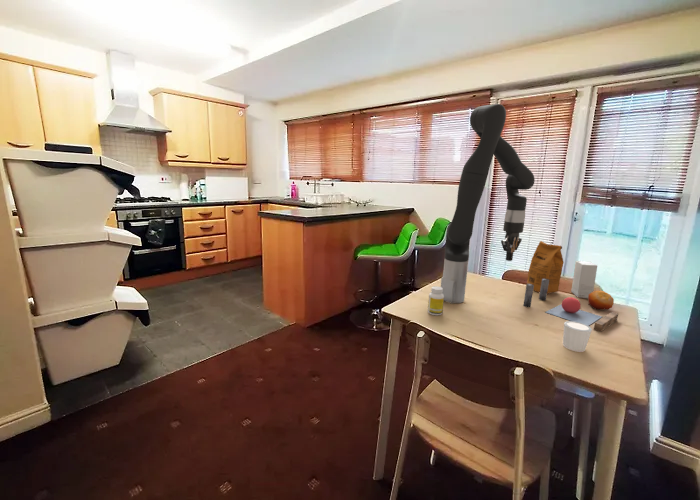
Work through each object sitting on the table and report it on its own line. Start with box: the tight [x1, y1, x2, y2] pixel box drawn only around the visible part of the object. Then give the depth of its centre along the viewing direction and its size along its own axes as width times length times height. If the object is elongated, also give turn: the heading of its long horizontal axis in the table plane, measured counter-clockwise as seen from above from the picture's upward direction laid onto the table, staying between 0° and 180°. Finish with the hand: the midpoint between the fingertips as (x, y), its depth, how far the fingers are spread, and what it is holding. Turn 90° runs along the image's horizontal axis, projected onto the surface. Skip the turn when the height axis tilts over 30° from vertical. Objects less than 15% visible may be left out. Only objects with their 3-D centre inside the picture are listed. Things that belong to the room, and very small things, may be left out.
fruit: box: [587, 290, 615, 311], centre depth 127 cm, size 8×8×8 cm
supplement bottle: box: [427, 286, 445, 316], centre depth 119 cm, size 5×5×10 cm
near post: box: [522, 283, 534, 308], centre depth 127 cm, size 3×3×9 cm
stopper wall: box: [593, 311, 619, 332], centre depth 113 cm, size 16×2×2 cm, turn 126°
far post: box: [538, 278, 549, 302], centre depth 135 cm, size 3×3×9 cm
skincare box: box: [570, 260, 598, 299], centre depth 140 cm, size 8×6×15 cm
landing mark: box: [544, 303, 603, 327], centre depth 121 cm, size 14×14×1 cm
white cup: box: [562, 320, 593, 353], centre depth 97 cm, size 7×7×7 cm
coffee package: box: [526, 240, 564, 295], centre depth 145 cm, size 10×12×22 cm
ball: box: [561, 296, 582, 313], centre depth 122 cm, size 6×6×6 cm
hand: (508, 260), depth 139 cm, fingers closed
